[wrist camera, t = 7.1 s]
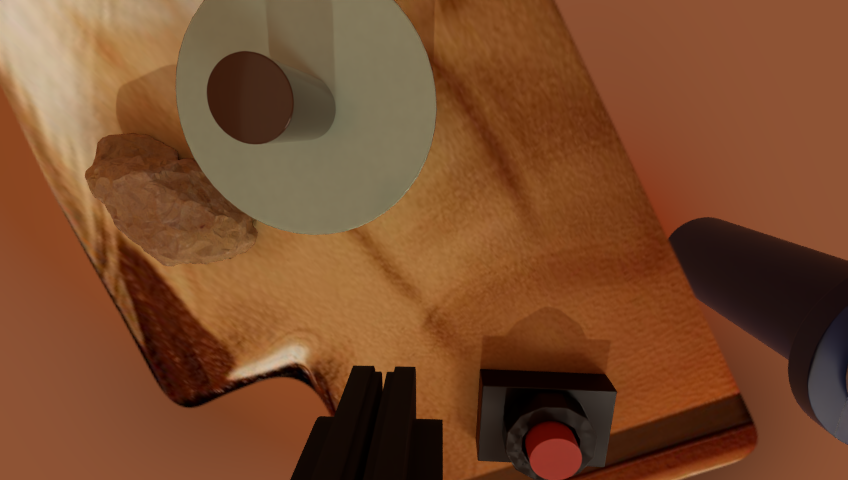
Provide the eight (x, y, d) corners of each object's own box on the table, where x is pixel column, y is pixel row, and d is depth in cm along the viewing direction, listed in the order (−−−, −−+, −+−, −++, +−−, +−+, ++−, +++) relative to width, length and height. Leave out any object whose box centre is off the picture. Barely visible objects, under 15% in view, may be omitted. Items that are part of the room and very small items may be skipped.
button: (577, 421, 29) (585, 439, 27) (571, 462, 30) (578, 482, 28) (526, 419, 29) (532, 437, 27) (523, 459, 30) (527, 479, 28)
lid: (439, -34, 18) (437, -126, 12) (434, 232, 21) (429, 277, 15) (172, -34, 19) (27, -121, 12) (207, 226, 22) (108, 266, 15)
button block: (605, 373, 32) (628, 407, 28) (594, 446, 34) (613, 487, 30) (479, 368, 32) (484, 401, 28) (475, 440, 34) (479, 479, 30)
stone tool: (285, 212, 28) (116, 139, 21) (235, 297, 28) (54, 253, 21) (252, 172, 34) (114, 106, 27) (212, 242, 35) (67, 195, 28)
